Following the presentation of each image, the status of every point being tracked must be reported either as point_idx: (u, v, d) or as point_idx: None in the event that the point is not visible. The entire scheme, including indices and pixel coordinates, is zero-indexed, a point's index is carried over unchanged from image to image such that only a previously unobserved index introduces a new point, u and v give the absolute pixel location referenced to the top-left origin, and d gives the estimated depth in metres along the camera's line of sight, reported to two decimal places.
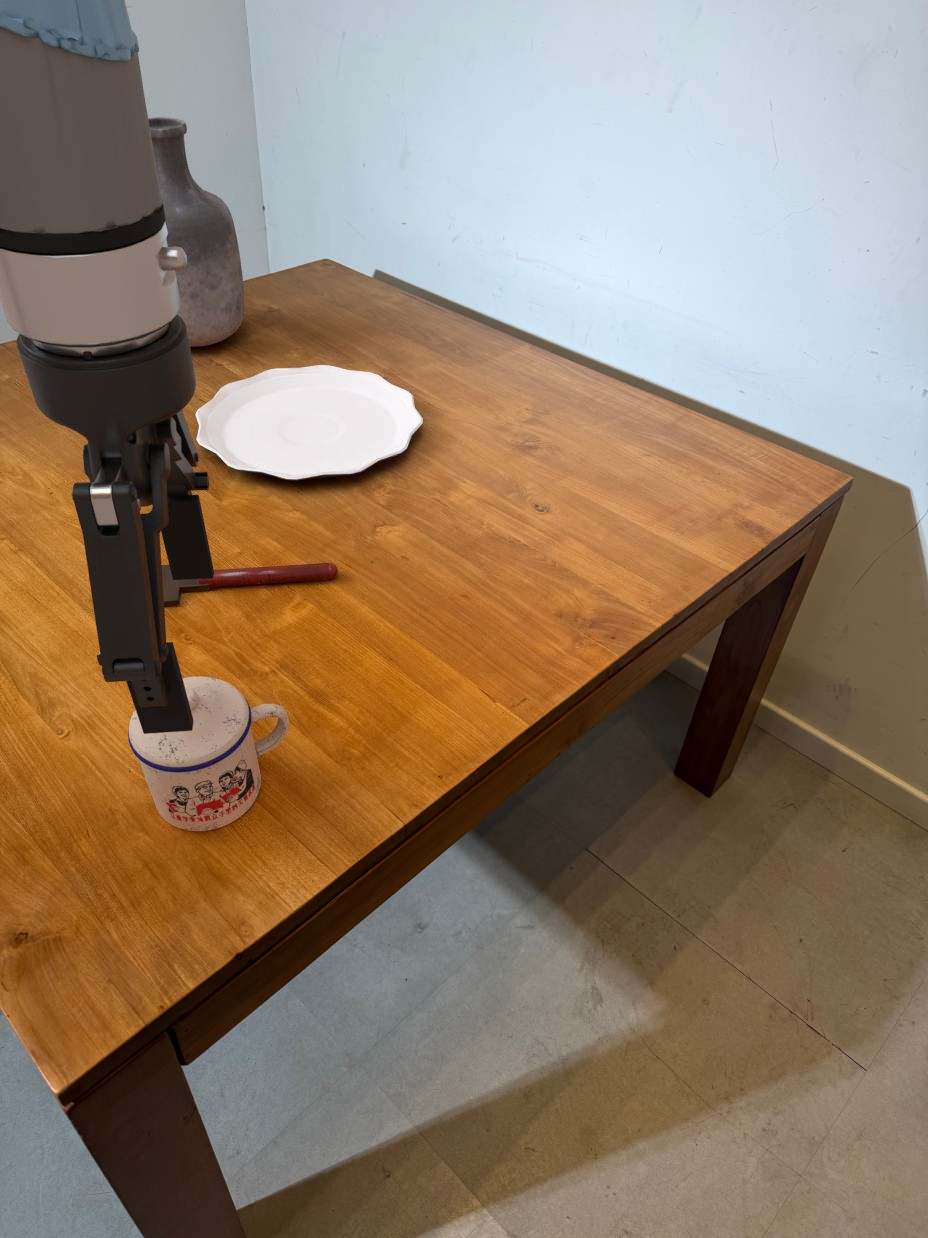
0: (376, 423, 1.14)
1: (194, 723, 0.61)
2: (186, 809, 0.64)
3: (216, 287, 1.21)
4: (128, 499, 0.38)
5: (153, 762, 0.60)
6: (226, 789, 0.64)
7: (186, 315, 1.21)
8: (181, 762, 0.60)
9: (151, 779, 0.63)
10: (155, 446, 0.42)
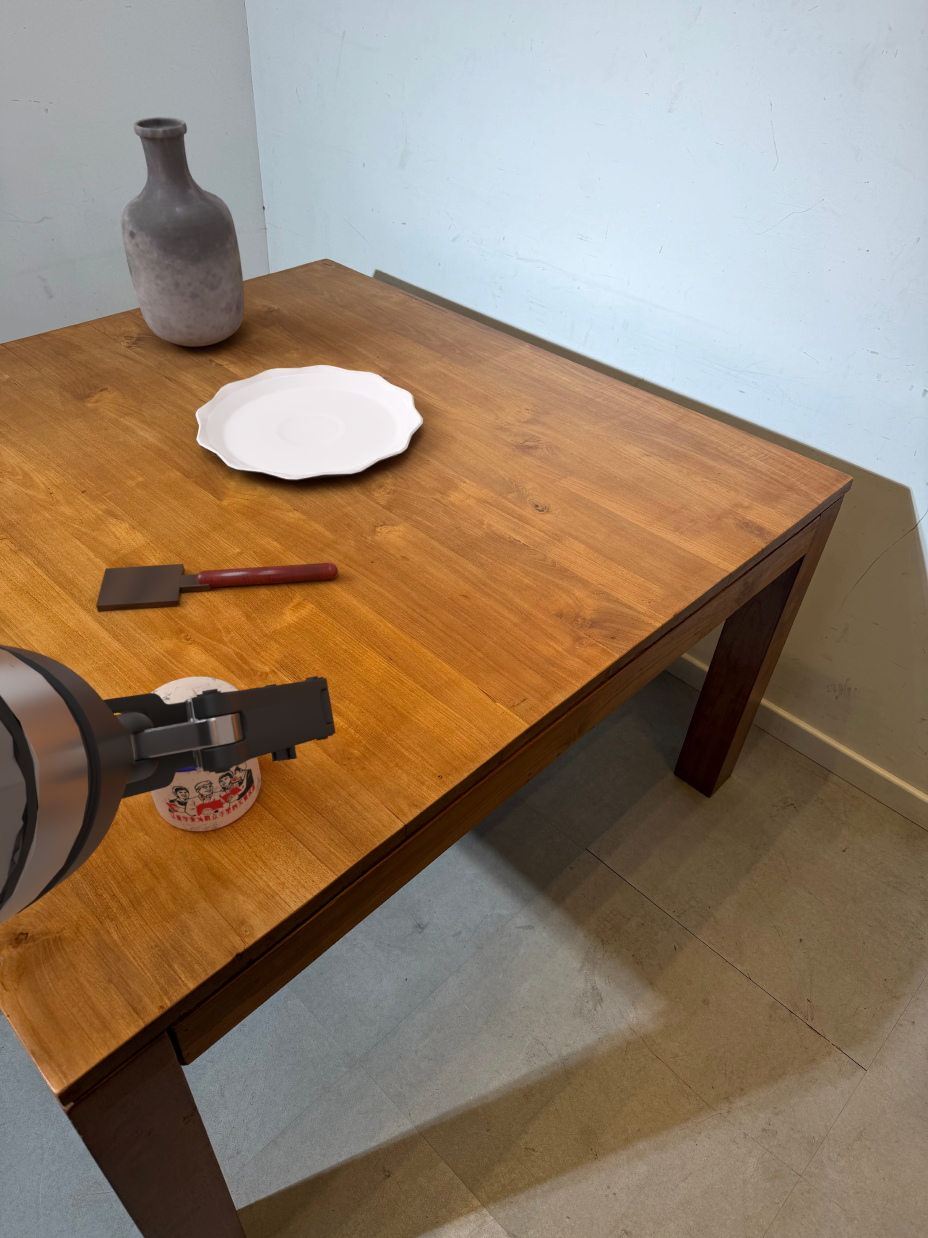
0: (376, 423, 1.14)
1: None
2: (186, 809, 0.64)
3: (216, 287, 1.21)
4: None
5: None
6: (226, 789, 0.64)
7: (186, 315, 1.21)
8: None
9: None
10: None
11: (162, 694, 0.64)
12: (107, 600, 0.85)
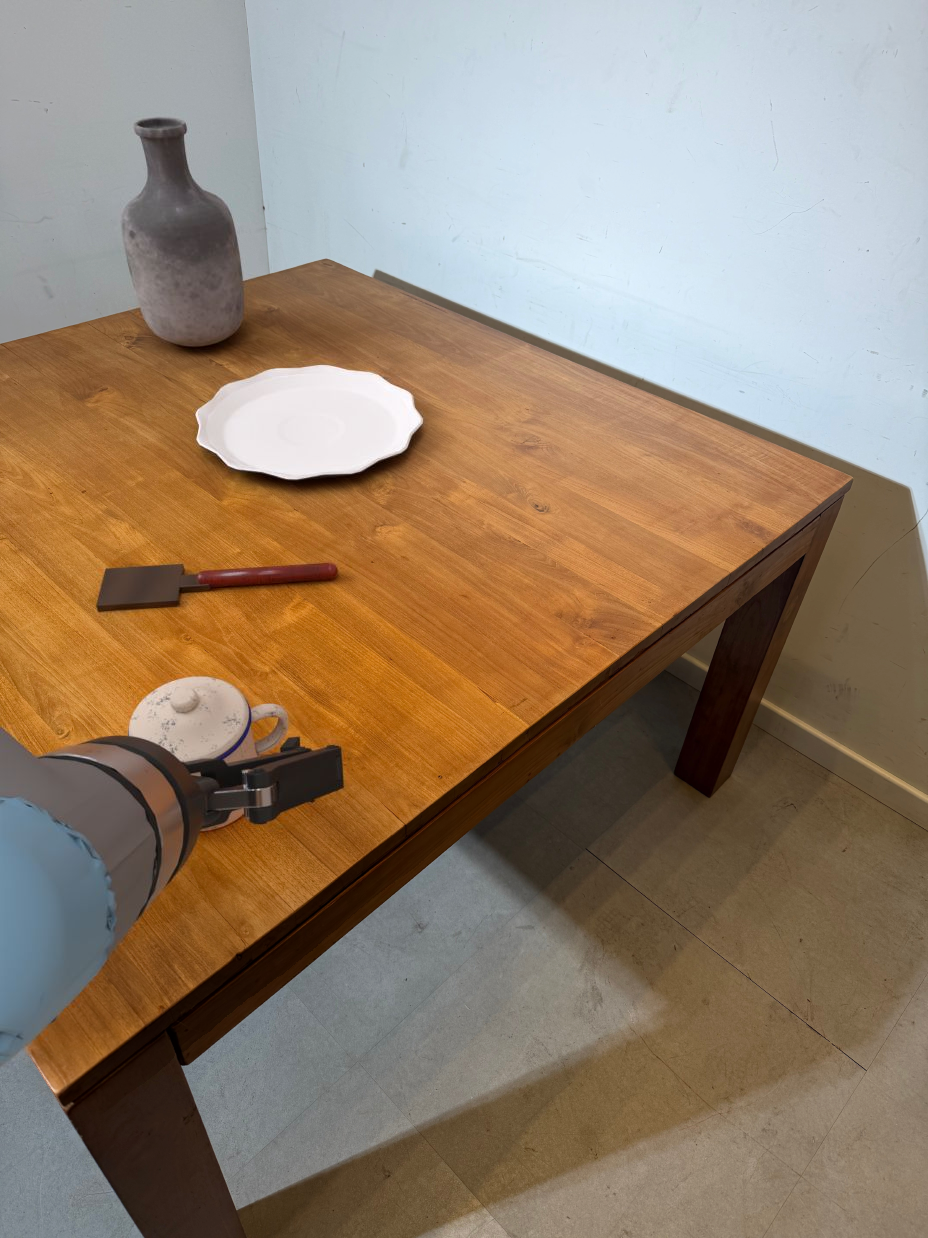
0: (376, 423, 1.14)
1: (194, 723, 0.61)
2: None
3: (216, 287, 1.21)
4: None
5: None
6: None
7: (186, 315, 1.21)
8: None
9: None
10: None
11: (162, 694, 0.64)
12: (107, 600, 0.85)
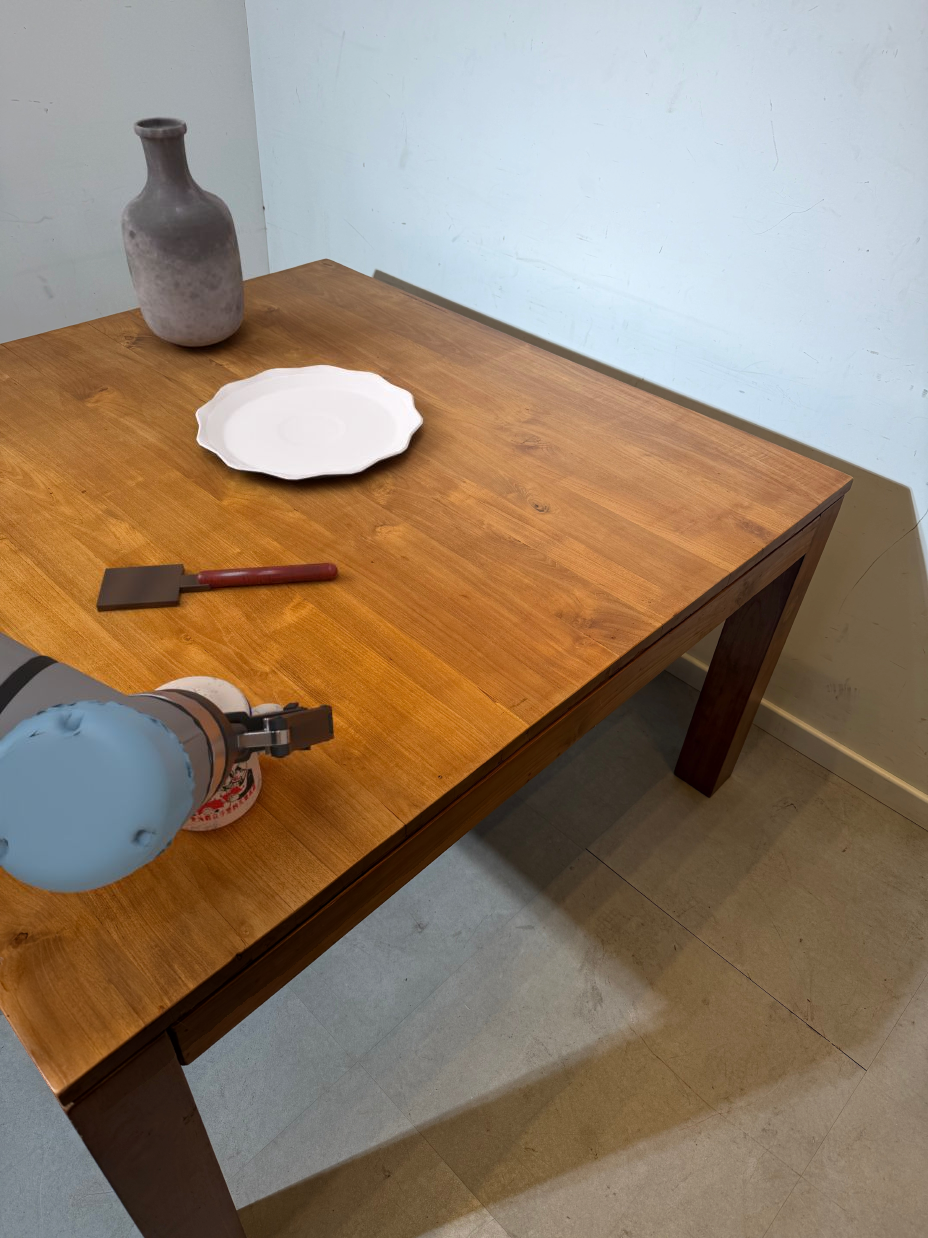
0: (376, 423, 1.14)
1: None
2: None
3: (216, 287, 1.21)
4: None
5: None
6: (227, 788, 0.64)
7: (186, 315, 1.21)
8: None
9: None
10: None
11: None
12: (107, 600, 0.85)
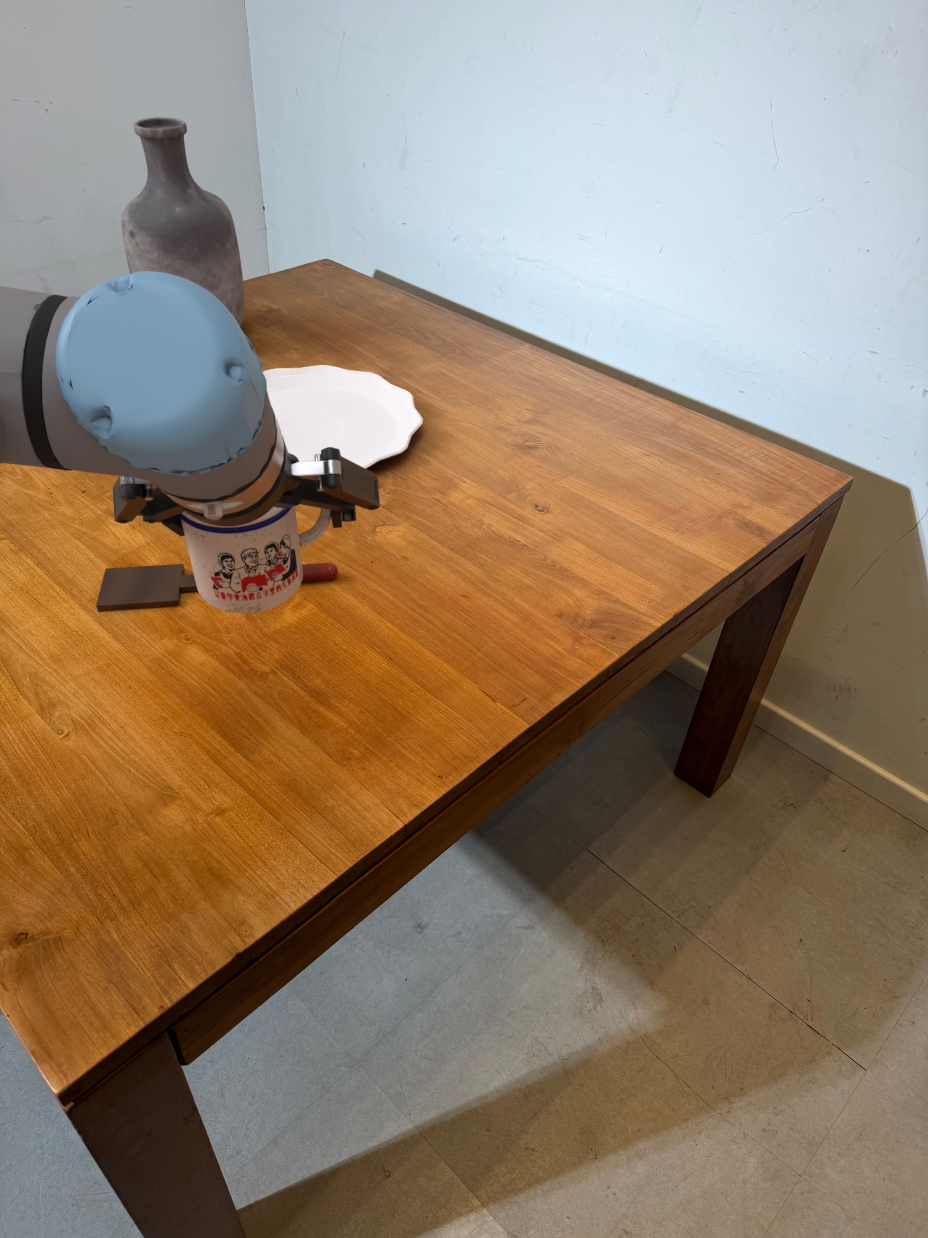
0: (376, 423, 1.14)
1: None
2: (231, 583, 0.64)
3: (216, 287, 1.21)
4: (121, 496, 0.52)
5: (200, 522, 0.60)
6: (271, 563, 0.64)
7: None
8: None
9: (197, 549, 0.63)
10: None
11: None
12: (107, 600, 0.85)
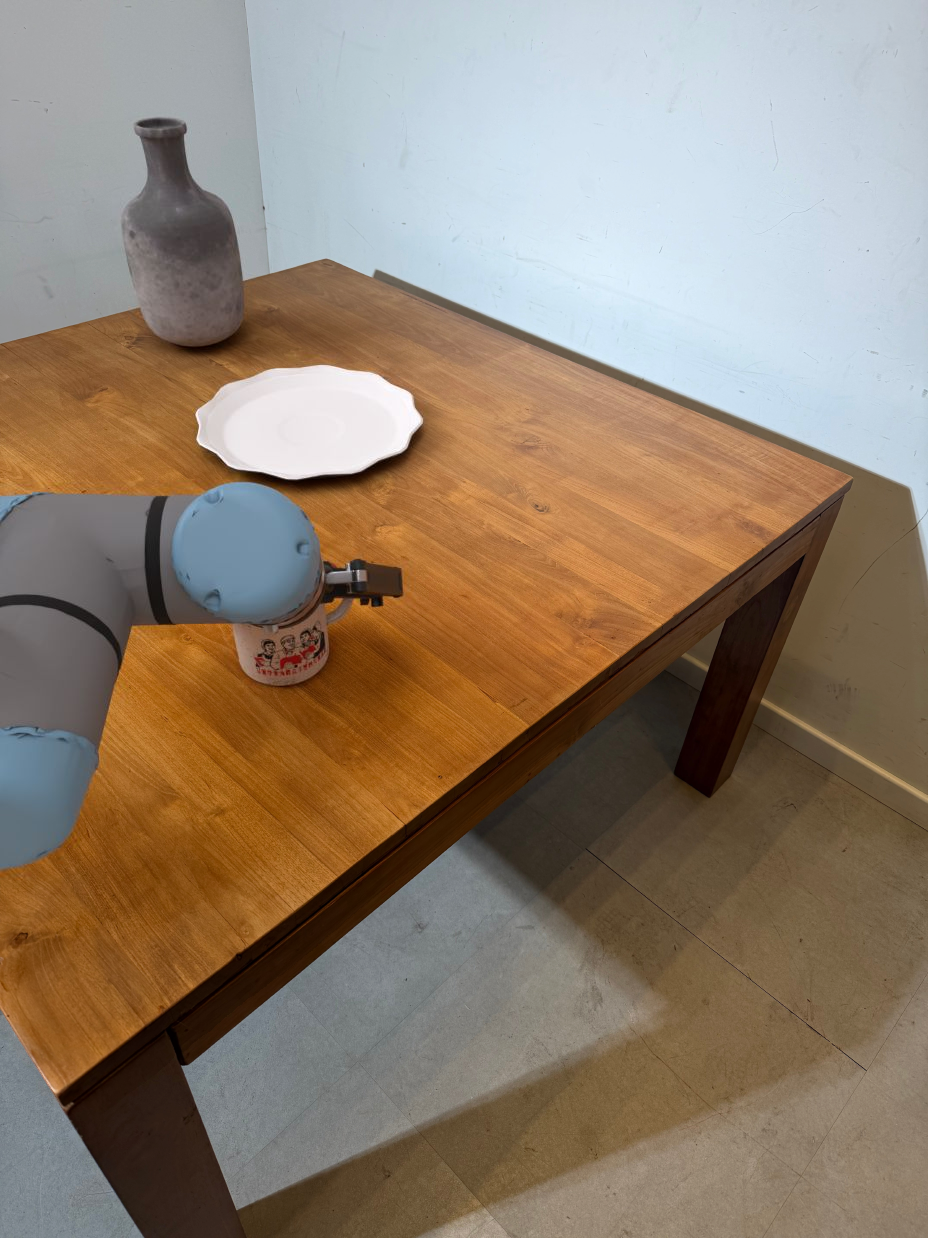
0: (376, 423, 1.14)
1: None
2: (271, 663, 0.76)
3: (216, 287, 1.21)
4: None
5: None
6: (305, 645, 0.76)
7: (186, 315, 1.21)
8: None
9: (243, 635, 0.75)
10: None
11: None
12: None
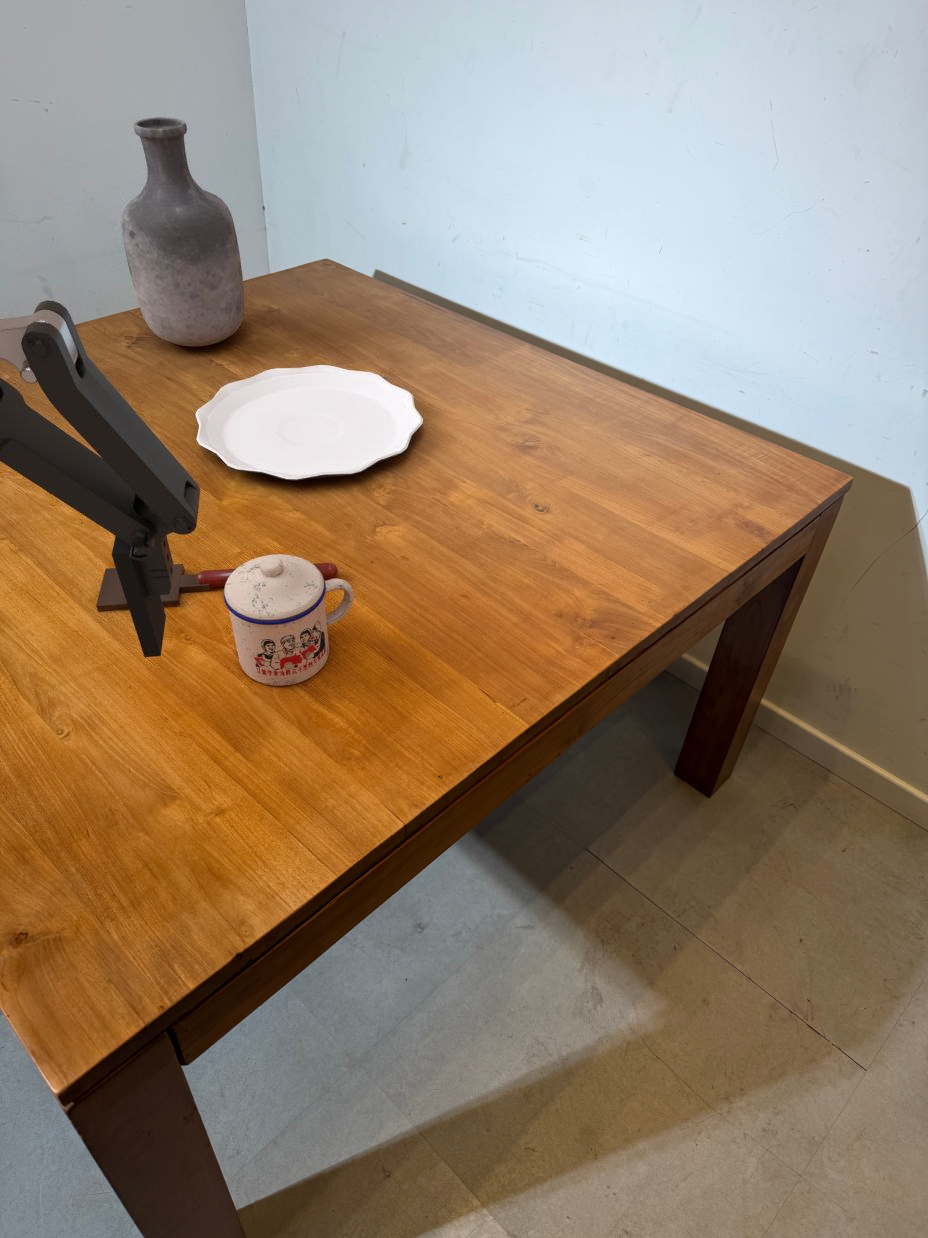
0: (376, 423, 1.14)
1: (281, 585, 0.73)
2: (271, 663, 0.76)
3: (216, 287, 1.21)
4: None
5: (248, 616, 0.72)
6: (305, 645, 0.76)
7: (186, 315, 1.21)
8: (272, 615, 0.72)
9: (243, 635, 0.75)
10: None
11: (250, 565, 0.76)
12: (107, 600, 0.85)
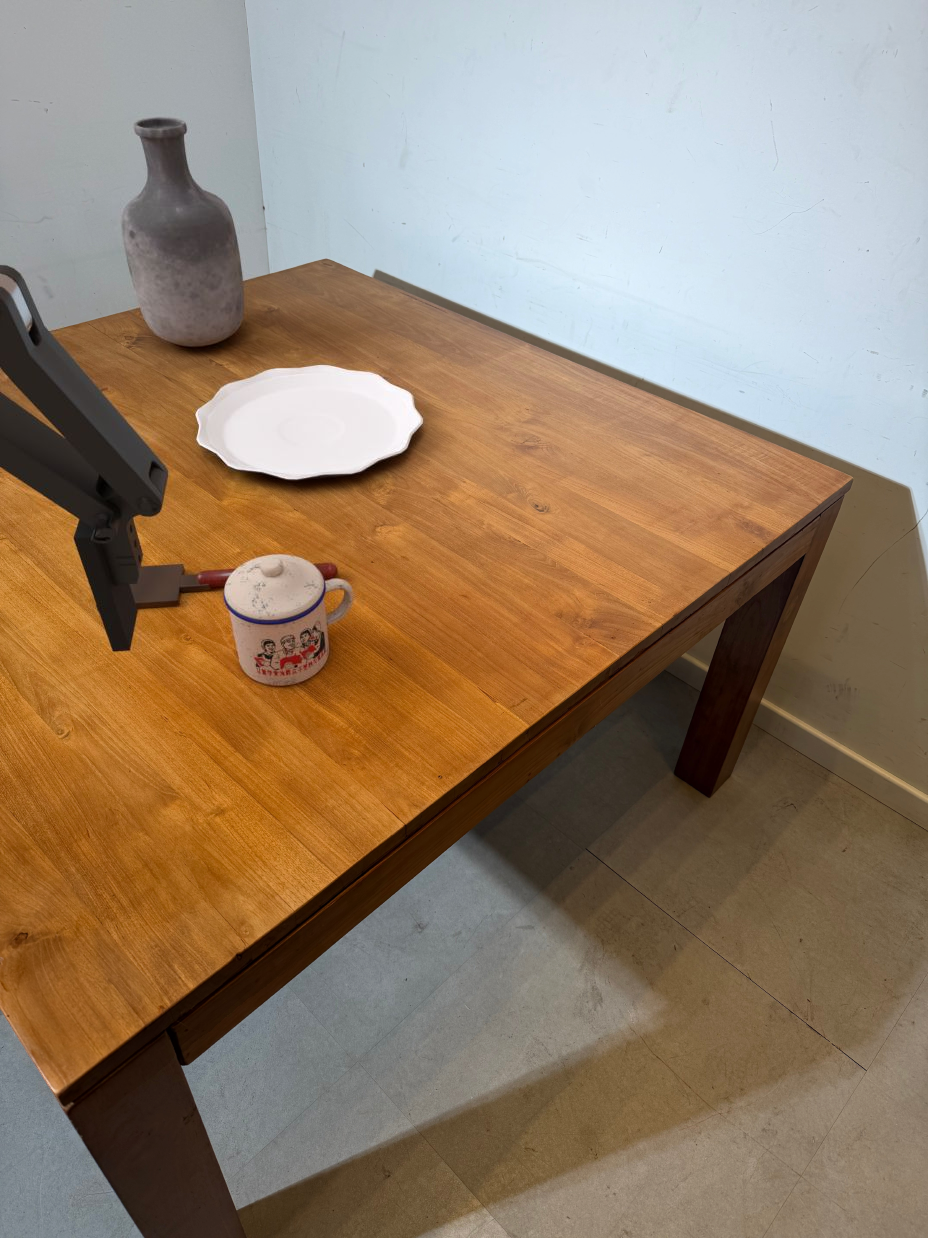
0: (376, 423, 1.14)
1: (281, 585, 0.73)
2: (271, 663, 0.76)
3: (216, 287, 1.21)
4: None
5: (248, 616, 0.72)
6: (305, 645, 0.76)
7: (186, 315, 1.21)
8: (271, 615, 0.72)
9: (243, 635, 0.75)
10: None
11: (250, 565, 0.76)
12: None
